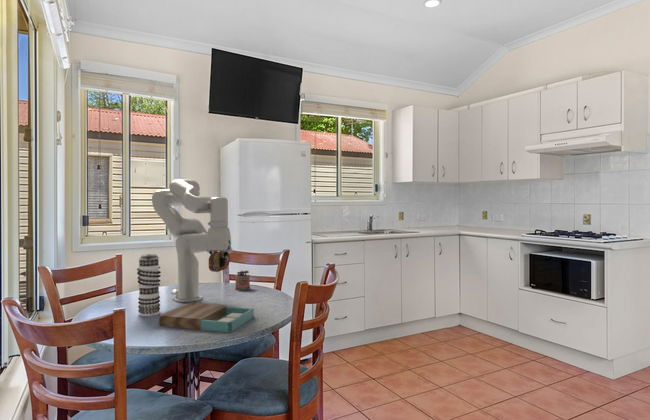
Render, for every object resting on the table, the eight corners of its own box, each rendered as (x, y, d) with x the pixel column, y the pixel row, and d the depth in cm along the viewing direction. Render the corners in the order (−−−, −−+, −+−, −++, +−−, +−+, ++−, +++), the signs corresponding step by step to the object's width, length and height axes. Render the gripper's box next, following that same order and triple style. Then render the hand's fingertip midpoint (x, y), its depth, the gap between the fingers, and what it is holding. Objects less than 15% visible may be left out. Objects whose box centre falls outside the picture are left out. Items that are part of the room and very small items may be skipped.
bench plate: (158, 325, 156) (158, 315, 156) (188, 312, 175) (188, 302, 175) (201, 329, 152) (201, 319, 152) (226, 315, 171) (226, 305, 171)
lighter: (236, 290, 218) (236, 271, 218) (234, 289, 221) (234, 270, 221) (250, 289, 222) (250, 270, 222) (248, 287, 225) (248, 269, 225)
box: (201, 329, 152) (201, 320, 152) (226, 315, 171) (226, 306, 171) (230, 332, 149) (230, 322, 149) (253, 317, 168) (253, 308, 168)
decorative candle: (137, 311, 176) (137, 253, 175) (160, 309, 179) (160, 252, 179) (136, 317, 167) (136, 256, 167) (161, 315, 171) (161, 255, 170)
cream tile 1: (229, 322, 153) (229, 327, 153) (235, 318, 158) (235, 323, 158) (217, 321, 154) (217, 326, 154) (223, 317, 159) (223, 322, 159)
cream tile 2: (237, 317, 160) (237, 322, 160) (243, 313, 165) (243, 318, 165) (226, 316, 161) (226, 321, 161) (232, 312, 166) (232, 317, 166)
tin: (212, 273, 175) (214, 253, 175) (206, 272, 176) (207, 253, 175) (229, 268, 190) (230, 249, 189) (223, 267, 190) (224, 249, 190)
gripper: (198, 225, 180) (198, 266, 181) (231, 225, 176) (231, 268, 177) (207, 224, 188) (207, 264, 188) (239, 224, 184) (239, 265, 184)
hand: (219, 265), depth 183 cm, fingers closed on tin, 2 cm apart
